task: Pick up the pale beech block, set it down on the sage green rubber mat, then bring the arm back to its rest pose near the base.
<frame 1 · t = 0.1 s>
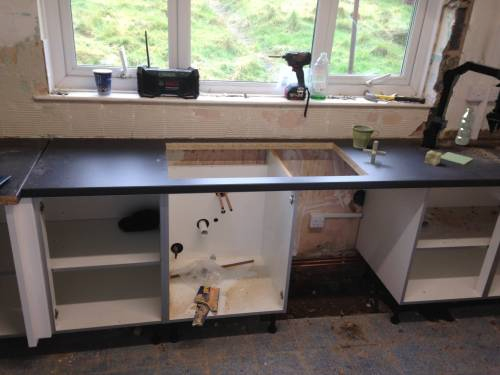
hand: (494, 131, 197), 15 cm above the counter, tool pointing down, fingers open, 9 cm apart
sage mat: (455, 158, 205), on the counter
pipe connector: (372, 163, 194), on the counter
beech block: (431, 163, 198), on the counter
ceramic cup: (362, 147, 214), on the counter
plastic bottle: (460, 145, 227), on the counter
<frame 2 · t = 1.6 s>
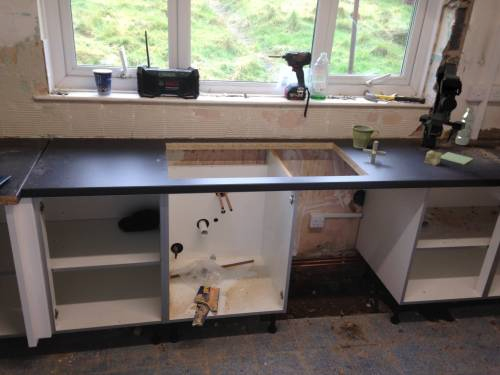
hand: (437, 140, 193), 11 cm above the counter, tool pointing down, fingers open, 9 cm apart
nothing on the counter moved.
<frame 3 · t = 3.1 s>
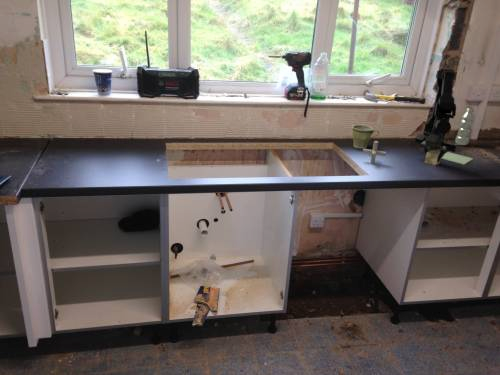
hand: (432, 160, 197), 1 cm above the counter, tool pointing down, fingers closed on beech block, 5 cm apart
beech block: (431, 162, 198), on the counter, touching gripper
everything else where it was.
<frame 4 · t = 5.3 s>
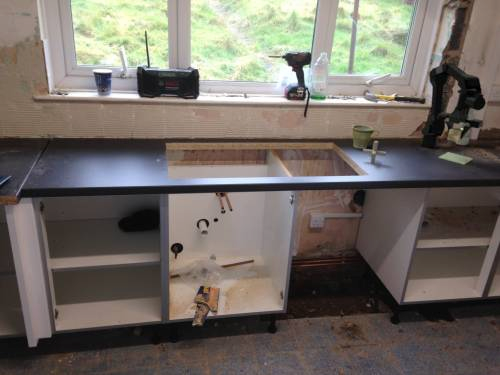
hand: (455, 137, 199), 11 cm above the counter, tool pointing down, fingers closed on beech block, 5 cm apart
beech block: (454, 139, 199), point 10 cm above the counter, touching gripper
everything else where it was.
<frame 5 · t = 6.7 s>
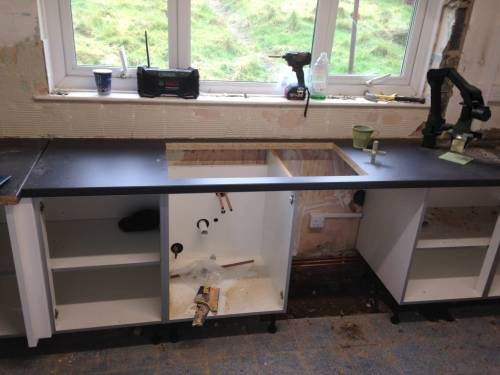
hand: (458, 148, 203), 5 cm above the counter, tool pointing down, fingers closed on beech block, 5 cm apart
beech block: (457, 150, 203), point 4 cm above the counter, touching gripper
everything else where it was.
when the fingers open (2 cm above the counter, at t = 7.6 s): beech block drops 1 cm, resting on sage mat.
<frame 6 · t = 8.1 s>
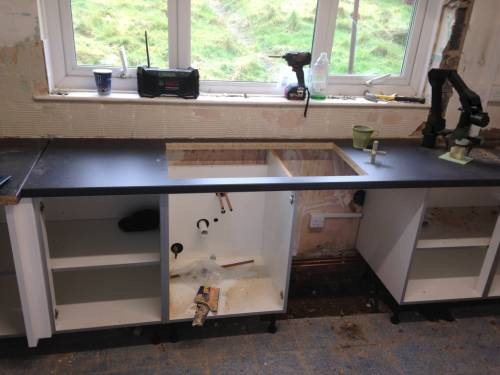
hand: (457, 153, 204), 2 cm above the counter, tool pointing down, fingers open, 9 cm apart
beech block: (456, 157, 205), resting on sage mat
everything else where it was.
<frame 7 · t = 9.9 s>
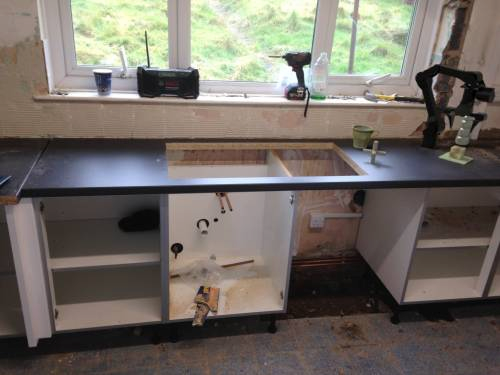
hand: (460, 131, 206), 12 cm above the counter, tool pointing down, fingers open, 9 cm apart
nothing on the counter moved.
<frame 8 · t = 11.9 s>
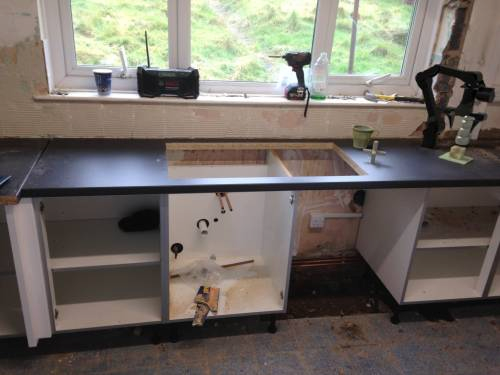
hand: (460, 131, 206), 12 cm above the counter, tool pointing down, fingers open, 9 cm apart
nothing on the counter moved.
at the end: beech block inside the target area on the sage mat (0.0 cm from its centre), point 0.4 cm above the sage mat's base; beech block tilted 0°; the gripper is holding nothing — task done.
